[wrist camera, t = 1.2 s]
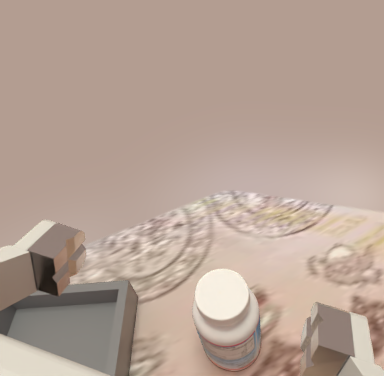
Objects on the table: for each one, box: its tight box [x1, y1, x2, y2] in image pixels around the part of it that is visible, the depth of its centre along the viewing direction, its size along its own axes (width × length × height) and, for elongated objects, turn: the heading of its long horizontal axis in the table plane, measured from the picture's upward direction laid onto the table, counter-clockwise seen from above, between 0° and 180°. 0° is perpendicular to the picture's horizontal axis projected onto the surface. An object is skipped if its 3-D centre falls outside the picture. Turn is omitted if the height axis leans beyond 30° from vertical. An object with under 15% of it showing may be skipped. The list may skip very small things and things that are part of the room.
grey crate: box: [0, 280, 138, 376], centre depth 36 cm, size 16×16×4 cm
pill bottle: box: [192, 269, 261, 371], centre depth 33 cm, size 6×6×11 cm
